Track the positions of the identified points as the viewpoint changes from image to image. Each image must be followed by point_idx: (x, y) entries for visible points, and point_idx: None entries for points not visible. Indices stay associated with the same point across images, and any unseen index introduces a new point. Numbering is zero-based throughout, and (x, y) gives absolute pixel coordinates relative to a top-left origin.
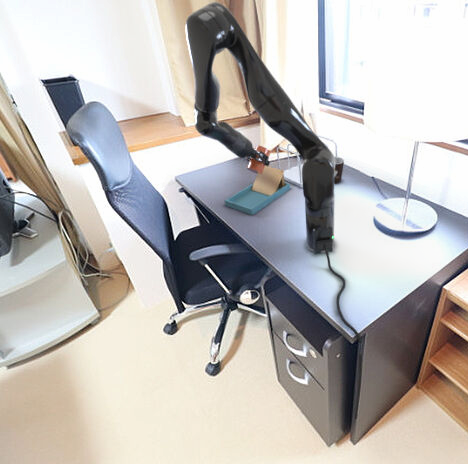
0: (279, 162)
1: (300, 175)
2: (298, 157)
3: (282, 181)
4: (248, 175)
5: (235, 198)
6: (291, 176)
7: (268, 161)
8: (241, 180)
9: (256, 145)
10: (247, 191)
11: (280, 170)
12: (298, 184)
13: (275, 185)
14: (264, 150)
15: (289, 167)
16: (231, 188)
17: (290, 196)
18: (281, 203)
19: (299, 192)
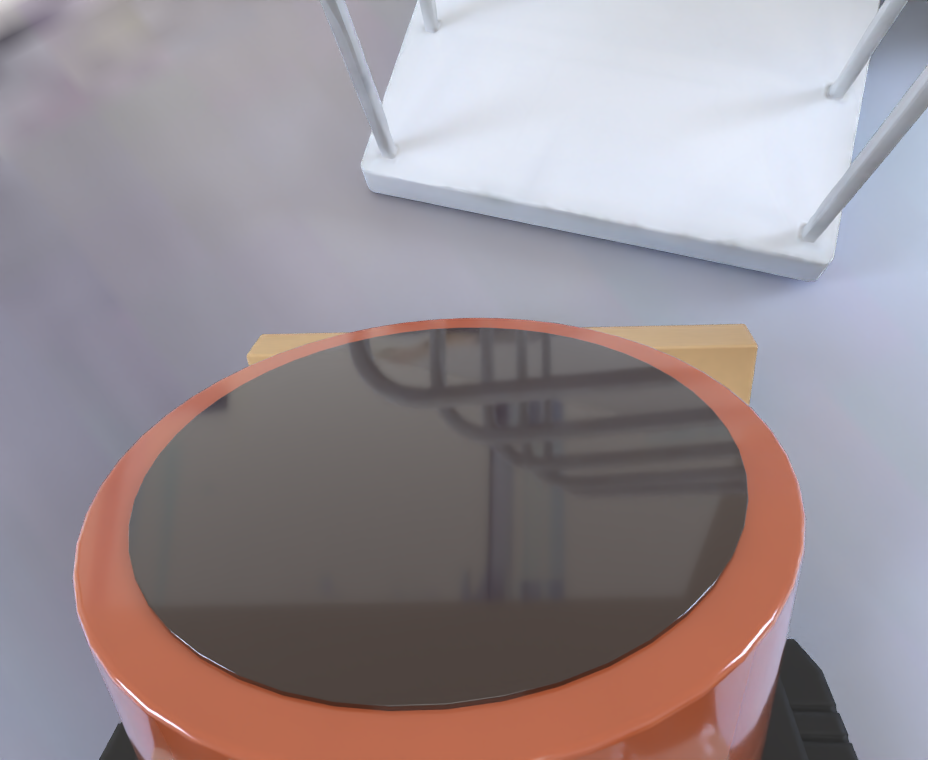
0: (362, 50)
1: (864, 182)
2: None
3: None
4: (30, 340)
5: None
6: (576, 151)
7: (844, 739)
8: (25, 489)
9: (147, 718)
10: None
11: (703, 360)
12: (783, 263)
13: None
14: (753, 732)
15: (434, 5)
16: (31, 736)
17: (853, 524)
18: (890, 748)
19: (874, 380)
